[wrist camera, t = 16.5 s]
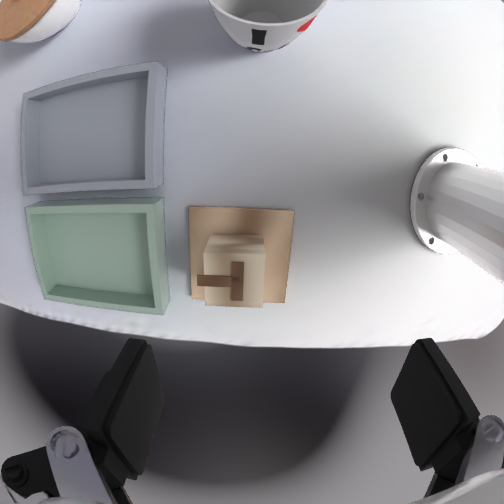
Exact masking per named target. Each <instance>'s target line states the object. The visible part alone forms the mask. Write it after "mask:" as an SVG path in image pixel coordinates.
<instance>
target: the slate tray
mask: <svg viewBox="0 0 504 504" xmlns="http://www.w3.org/2000/svg"><path fill="white" fill-rule="evenodd" d="M167 70H168V69H167V68H166V67H165V66H164V65H162V64H161V63H160V62H159V61H156V62H148V63H140V64H134V65H127V66H122V67H116V68H111V69H106V70H101V71H97V72H93V73H88V74H84V75H80V76H77V77H73V78H69V79H66V80H62V81H59V82H56V83H53V84H50V85H47V86H44V87H41V88H38V89H35V90H32V91H30V92H27V93H24V94H23V104H22V119H21V168H22V184H23V195H34V194H46V193H59V192H74V191H92V190H118V189H154V188H156V187H158V186H160V185H162V184H163V147H164V116H165V97H166V83H167Z"/></svg>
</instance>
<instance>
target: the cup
mask: <svg viewBox="0 0 504 504" xmlns="http://www.w3.org/2000/svg"><path fill="white" fill-rule="evenodd" d="M208 1H209V3H210V5H211V7H212V9H213V11H214V14H215V16H216V18H217V20H218V22H219V23H220V25H221V26H222V27H223V28H224V29H225V31H226V32H227V33H228V34H229V36H230V37H231V38H232V39H233V40H234V41H235V42H236V43H238V44H239V45H241V46H243V47H245V48H247V49H249V50H251V51H255V52H270V51H274V50H277V49H280V48H283V47H285V46H286V45H288V44H290V43H291V42H292V41H293V40H294V39H296V38H297V37H298V36H299V35H300V34H302V33H303V32H304V31H305V30H306V29H307V28H308V26H309V25H310V24H311V22H312V21H313V20H314V18H315V17H316V16H317V14H318V13H319V12H320V10H321V9H322V8H323V7H324V5H325V4H326V2H327V0H208Z"/></svg>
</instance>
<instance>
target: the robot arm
mask: <svg viewBox="0 0 504 504" xmlns="http://www.w3.org/2000/svg"><path fill="white" fill-rule="evenodd" d="M410 210H411V219H412V223H413V226H414V229H415V231H416V234H417V236H418V237H419V238H420V240H421V241H422V243H424V244H425V245H426V246H427V247H428V248H430V249H431V250H433V251H434V252H437V253H440V254H452V253H456V252H460V253H461V254H463V255H464V256H466V257H467V258H469V259H470V260H471V261H473V262H474V263H476V264H477V265H478V266H480V267H481V268H483V269H484V270H485V271H487V272H488V273H489V274H491V275H492V276H493V277H495V278H496V279H497V280H499V281H500V282H501V283H503V284H504V173H503V172H499V171H495V170H492V169H488V168H483V167H481V165H480V164H479V162H478V161H477V160H476V158H475V157H474V156H472V155H471V154H470V153H469V152H467V151H465V150H463V149H458V148H444V149H440V150H438V151H436V152H434V153H433V154H432V155H431V156H429V157H428V158H427V159H426V160H425V162H424V163H423V164H422V166H421V167H420V169H419V171H418V173H417V175H416V178H415V181H414V184H413V187H412V193H411V202H410ZM391 400H392V403H393V405H394V408H395V410H396V413H397V415H398V418H399V421H400V423H401V426H402V429H403V431H404V434H405V437H406V440H407V442H408V445H409V448H410V451H411V454H412V456H413V459H414V462H415V464H416V465H417V466H419V468H420V470H421V471H423V470H426V469H429V468H432V467H434V470H435V472H434V475H433V478H432V480H431V482H430V484H429V487H428V489H427V491H426V493H425V496H424V498H423V499H421V500H418V501H415V502H413V503H409V504H504V422H503V421H502V420H501V419H500V418H499V417H497V416H495V415H486V416H484V417H482V418H481V419H480V420H479V418H478V417H479V415H480V413H479V411H478V409H477V407H476V406H475V404H474V403H473V401H472V399H471V397H470V396H469V394H468V392H467V391H466V389H465V387H464V386H463V384H462V383H461V381H460V379H459V378H458V376H457V375H456V373H455V371H454V370H453V368H452V367H451V365H450V364H449V362H448V361H447V359H446V358H445V356H444V355H443V354H442V352H441V350H440V349H439V348H438V346H437V345H436V343H435V342H434V340H433V339H432V338H425V339H418V340H416V342H415V343H414V344H413V345H412V346H411V349H410V351H409V353H408V356H407V358H406V360H405V363H404V365H403V367H402V370H401V372H400V374H399V376H398V378H397V380H396V382H395V384H394V387H393V389H392V391H391ZM164 401H165V393H164V390H163V386H162V383H161V380H160V376H159V373H158V369H157V366H156V362H155V359H154V355H153V351H152V347H151V345H148V344H147V342H146V341H145V340H141V339H133V338H130V339H128V341H127V342H126V344H125V346H124V347H123V349H122V351H121V353H120V354H119V356H118V358H117V360H116V362H115V363H114V365H113V367H112V369H111V370H110V371H107V372H106V374H105V375H104V377H103V379H102V380H101V382H100V384H99V386H98V388H97V390H96V391H95V393H94V395H93V397H92V399H91V401H90V403H89V405H88V407H87V409H86V411H85V412H84V414H83V416H82V419H81V420H80V422H79V424H78V426H77V428H76V429H75V428H73V427H68V426H64V427H59V428H57V429H55V430H54V431H52V432H51V433H50V434H49V436H48V438H47V441H46V446H45V447H42V448H39V449H35V450H32V451H29V452H26V453H23V454H20V455H16V456H12V457H10V458H8V459H7V460H6V461H5V462H4V463H3V465H2V469H1V474H0V504H133V503H132V501H131V500H130V497H129V496H128V494H127V492H126V490H125V488H124V487H123V486H124V484H125V480H126V478H129V479H133V480H136V479H137V476H138V475H141V474H142V473H143V471H144V467H145V464H146V461H147V457H148V454H149V450H150V447H151V444H152V440H153V437H154V434H155V430H156V427H157V424H158V420H159V417H160V414H161V411H162V407H163V404H164Z"/></svg>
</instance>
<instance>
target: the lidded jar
mask: <svg viewBox="0 0 504 504" xmlns="http://www.w3.org/2000/svg"><path fill="white" fill-rule="evenodd" d="M81 1H82V0H2V1H1V3H0V40H2V41H11V42H17V43H33V42H38V41H41V40H44V39H46V38H48V37H50V36H52V35H54V34H55V33H57V32H59V31H61V30H62V29H63V28H65V27H66V26H67V25H68V24H69V23H70V22H71V21H72V20H73V19H74V17H75V16H76V14H77V13H78V11H79V8H80V6H81Z"/></svg>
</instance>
